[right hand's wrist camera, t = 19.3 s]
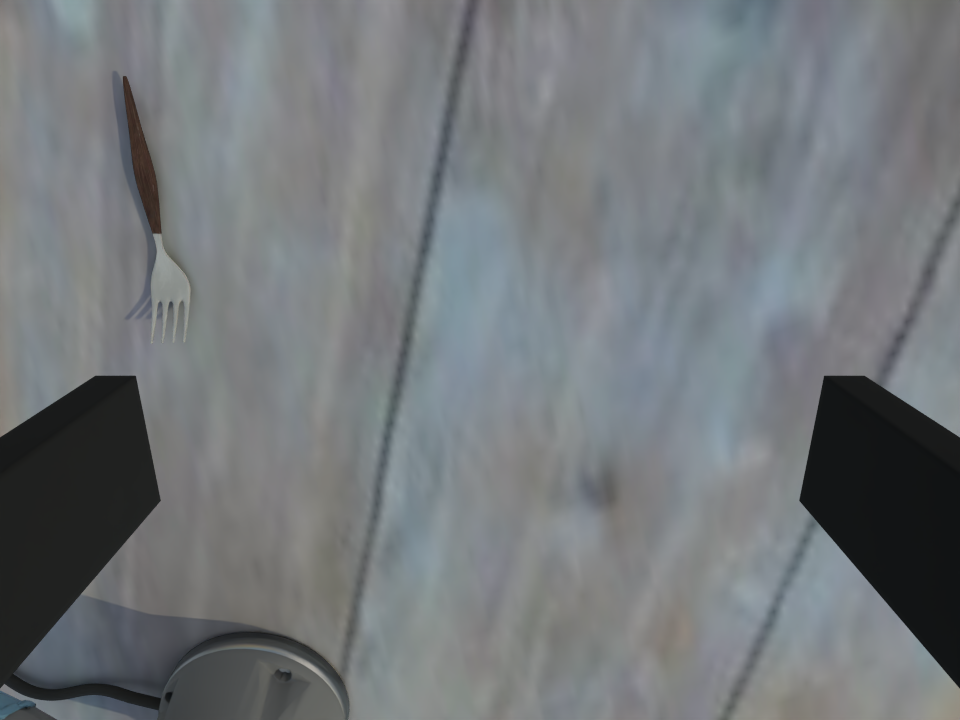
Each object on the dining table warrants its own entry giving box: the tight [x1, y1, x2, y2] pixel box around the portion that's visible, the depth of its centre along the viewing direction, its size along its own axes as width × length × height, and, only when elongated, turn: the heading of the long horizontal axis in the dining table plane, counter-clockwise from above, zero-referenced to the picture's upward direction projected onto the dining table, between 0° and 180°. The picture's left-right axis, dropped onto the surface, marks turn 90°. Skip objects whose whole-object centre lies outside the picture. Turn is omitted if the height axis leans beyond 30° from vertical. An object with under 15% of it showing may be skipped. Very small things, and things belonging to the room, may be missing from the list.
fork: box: [123, 76, 191, 344], centre depth 39 cm, size 3×16×2 cm, turn 2°
